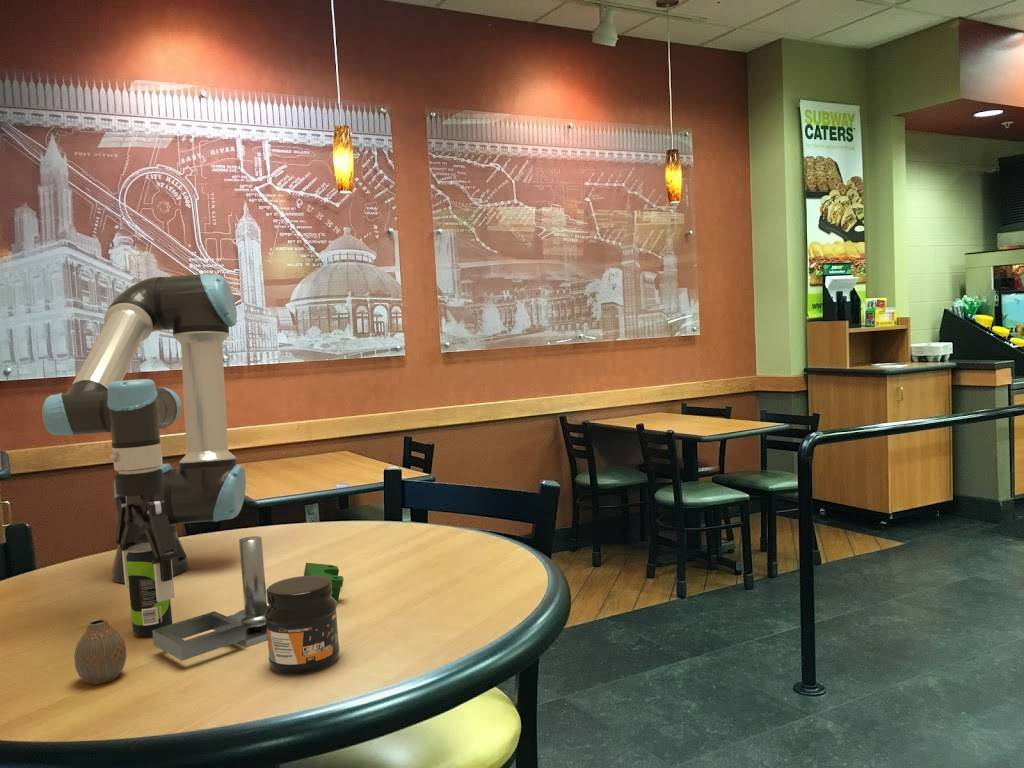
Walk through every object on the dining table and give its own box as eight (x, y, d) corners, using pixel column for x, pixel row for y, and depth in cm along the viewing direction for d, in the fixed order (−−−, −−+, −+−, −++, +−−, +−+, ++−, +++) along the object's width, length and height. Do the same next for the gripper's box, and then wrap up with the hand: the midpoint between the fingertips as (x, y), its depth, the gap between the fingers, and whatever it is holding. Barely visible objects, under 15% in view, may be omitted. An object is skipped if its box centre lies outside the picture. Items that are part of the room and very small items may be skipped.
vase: (88, 671, 125) (83, 615, 124) (135, 667, 125) (130, 611, 125) (68, 691, 118) (62, 632, 117) (117, 686, 118) (111, 627, 118)
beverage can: (180, 626, 142) (173, 542, 141) (154, 639, 137) (146, 552, 136) (152, 624, 144) (144, 541, 143) (125, 637, 139) (117, 550, 138)
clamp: (334, 626, 151) (345, 586, 148) (301, 623, 149) (311, 584, 146) (331, 584, 161) (341, 547, 158) (301, 581, 159) (310, 543, 156)
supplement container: (273, 683, 116) (267, 601, 116) (265, 657, 126) (258, 581, 125) (347, 667, 120) (341, 587, 120) (333, 643, 130) (327, 570, 129)
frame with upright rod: (154, 654, 130) (145, 556, 129) (266, 618, 144) (259, 529, 143) (182, 670, 123) (173, 566, 122) (297, 630, 137) (290, 537, 136)
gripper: (89, 468, 145) (99, 585, 146) (145, 479, 127) (157, 612, 128) (132, 462, 150) (142, 575, 151) (192, 471, 133) (203, 599, 134)
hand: (149, 592), depth 140 cm, fingers open, 13 cm apart
